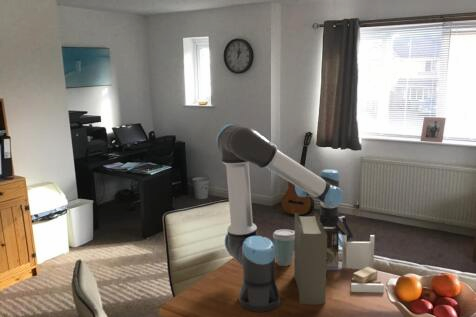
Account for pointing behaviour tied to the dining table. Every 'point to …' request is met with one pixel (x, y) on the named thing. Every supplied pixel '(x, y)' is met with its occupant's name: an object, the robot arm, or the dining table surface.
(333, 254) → the coffee box
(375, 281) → the offcut lower
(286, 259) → the disposable coffee cup
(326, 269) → the mat
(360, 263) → the rack
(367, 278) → the offcut upper
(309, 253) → the book
